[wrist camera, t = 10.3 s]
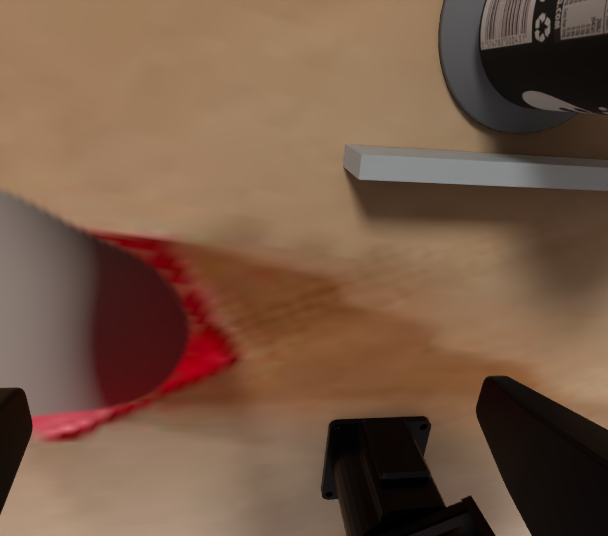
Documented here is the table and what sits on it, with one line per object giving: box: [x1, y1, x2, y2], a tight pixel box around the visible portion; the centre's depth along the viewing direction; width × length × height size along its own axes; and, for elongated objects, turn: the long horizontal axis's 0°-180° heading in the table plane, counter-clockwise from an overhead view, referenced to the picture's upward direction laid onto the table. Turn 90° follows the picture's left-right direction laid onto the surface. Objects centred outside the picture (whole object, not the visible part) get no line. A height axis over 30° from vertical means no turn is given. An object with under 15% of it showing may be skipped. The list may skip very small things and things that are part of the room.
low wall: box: [343, 145, 608, 191], centre depth 19 cm, size 1×16×3 cm, turn 86°
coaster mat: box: [439, 0, 578, 133], centre depth 18 cm, size 9×9×1 cm
